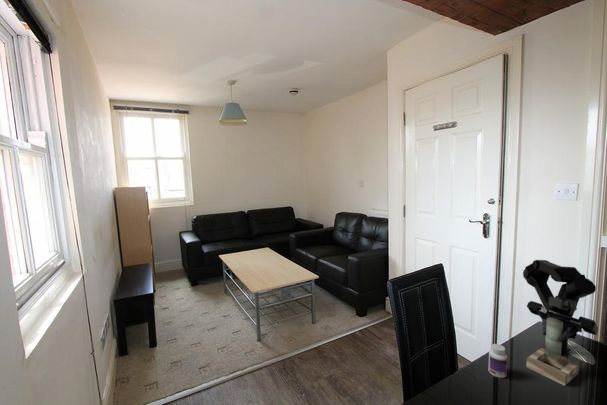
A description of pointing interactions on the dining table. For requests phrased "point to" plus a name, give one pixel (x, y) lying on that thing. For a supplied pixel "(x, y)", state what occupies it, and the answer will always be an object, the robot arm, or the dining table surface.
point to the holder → (560, 376)
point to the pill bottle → (497, 361)
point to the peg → (553, 337)
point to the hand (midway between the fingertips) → (551, 338)
